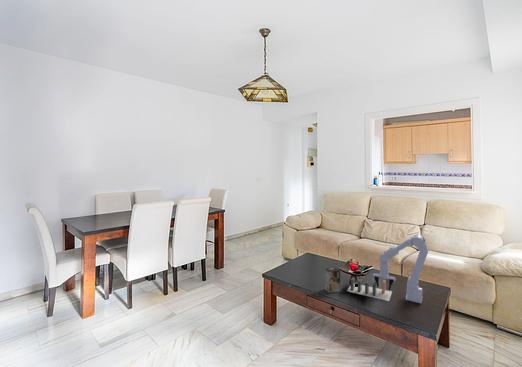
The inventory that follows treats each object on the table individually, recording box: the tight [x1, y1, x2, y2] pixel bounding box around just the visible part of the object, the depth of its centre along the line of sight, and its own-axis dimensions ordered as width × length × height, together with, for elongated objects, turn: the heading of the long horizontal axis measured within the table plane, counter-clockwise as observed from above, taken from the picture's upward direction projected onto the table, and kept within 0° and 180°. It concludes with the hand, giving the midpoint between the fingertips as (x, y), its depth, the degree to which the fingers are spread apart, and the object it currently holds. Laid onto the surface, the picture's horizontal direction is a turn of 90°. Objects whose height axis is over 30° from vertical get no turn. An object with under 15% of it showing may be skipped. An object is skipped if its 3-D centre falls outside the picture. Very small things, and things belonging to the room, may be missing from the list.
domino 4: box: [372, 281, 377, 296], centre depth 192 cm, size 2×5×8 cm, turn 147°
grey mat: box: [346, 284, 393, 302], centre depth 197 cm, size 28×16×1 cm, turn 57°
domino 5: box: [381, 279, 387, 294], centre depth 195 cm, size 2×5×8 cm, turn 147°
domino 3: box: [364, 279, 370, 294], centre depth 194 cm, size 2×5×8 cm, turn 148°
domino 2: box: [357, 278, 363, 292], centre depth 197 cm, size 2×5×8 cm, turn 147°
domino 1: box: [350, 276, 356, 291], centre depth 200 cm, size 2×5×8 cm, turn 147°
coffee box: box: [324, 266, 341, 294], centre depth 198 cm, size 9×6×16 cm
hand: (383, 288), depth 195 cm, fingers open, 7 cm apart
